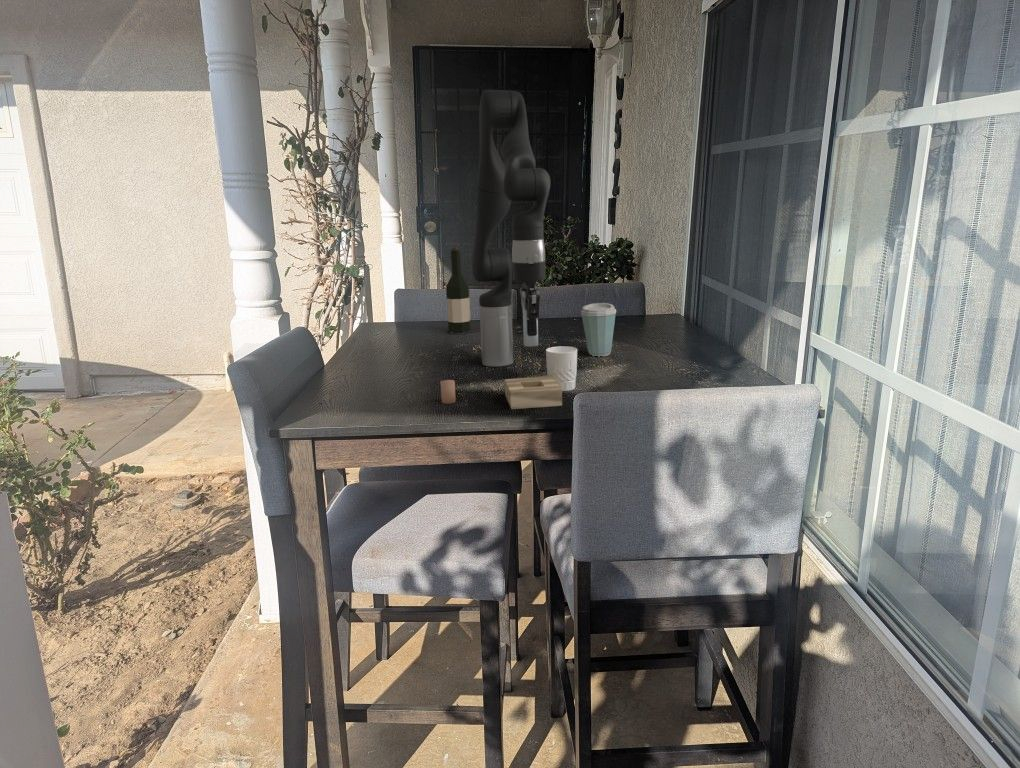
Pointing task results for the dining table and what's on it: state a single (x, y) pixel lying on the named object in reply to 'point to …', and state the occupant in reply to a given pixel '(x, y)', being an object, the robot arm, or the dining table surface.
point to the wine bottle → (458, 297)
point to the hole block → (533, 392)
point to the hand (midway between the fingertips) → (530, 333)
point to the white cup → (562, 366)
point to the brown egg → (448, 391)
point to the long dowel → (527, 339)
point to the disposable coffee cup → (599, 327)
